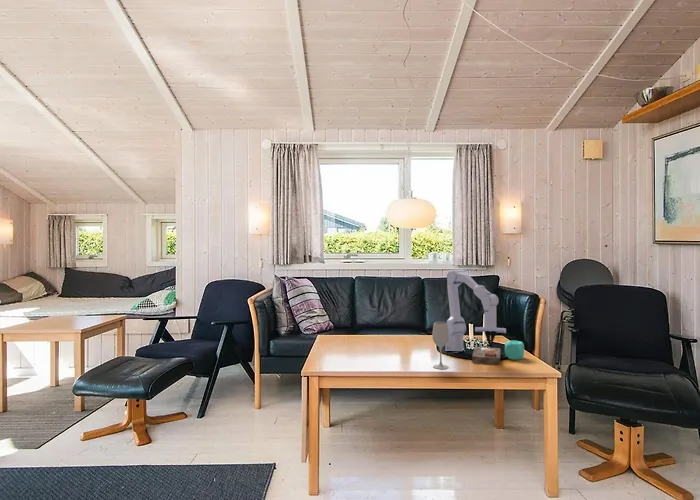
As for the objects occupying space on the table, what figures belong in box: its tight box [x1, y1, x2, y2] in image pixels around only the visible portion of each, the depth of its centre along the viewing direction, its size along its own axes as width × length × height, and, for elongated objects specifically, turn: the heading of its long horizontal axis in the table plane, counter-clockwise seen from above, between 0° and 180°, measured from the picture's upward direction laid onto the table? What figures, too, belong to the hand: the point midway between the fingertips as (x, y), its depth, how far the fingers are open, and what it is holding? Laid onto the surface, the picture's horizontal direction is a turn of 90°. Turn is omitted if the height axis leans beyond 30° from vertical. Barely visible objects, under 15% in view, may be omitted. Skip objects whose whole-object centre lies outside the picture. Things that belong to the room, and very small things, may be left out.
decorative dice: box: [504, 340, 525, 361], centre depth 227 cm, size 8×8×8 cm
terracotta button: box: [486, 349, 495, 356], centre depth 222 cm, size 4×4×3 cm
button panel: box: [471, 346, 501, 365], centre depth 227 cm, size 13×21×3 cm, turn 161°
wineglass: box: [431, 321, 449, 370], centre depth 212 cm, size 8×8×21 cm
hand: (490, 346), depth 222 cm, fingers closed
